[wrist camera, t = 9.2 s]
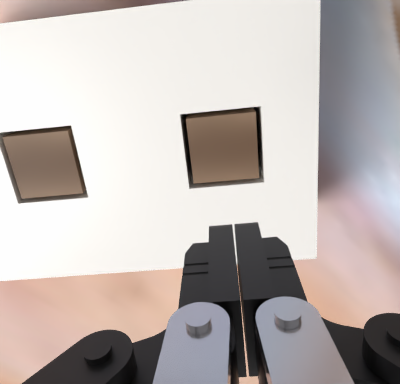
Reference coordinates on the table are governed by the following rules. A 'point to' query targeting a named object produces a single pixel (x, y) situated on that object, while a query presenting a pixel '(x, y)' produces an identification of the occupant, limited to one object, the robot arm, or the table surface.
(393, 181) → the table surface
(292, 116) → the housing
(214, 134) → the peg
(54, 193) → the peg
